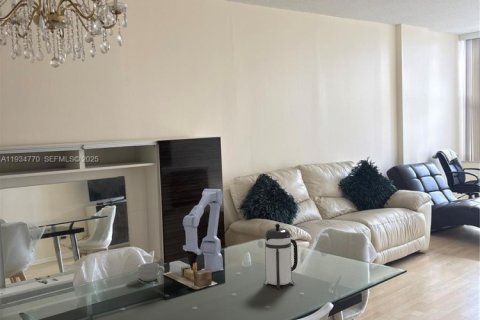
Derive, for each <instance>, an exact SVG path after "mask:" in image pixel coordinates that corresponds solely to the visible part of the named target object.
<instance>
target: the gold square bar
mask: <svg viewBox="0 0 480 320" xmlns="http://www.w3.org/2000/svg"><path fill="white" fill-rule="evenodd" d="M197 264H198V262H197V261H196V262H194V263H193V266H192V268H191V269H189V268H185V269H183V275H184V276H186V277H189V278H191V279H193V280H194V272H196V271H198V265H197Z"/></svg>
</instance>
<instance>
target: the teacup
mask: <svg viewBox="0 0 480 320" xmlns="http://www.w3.org/2000/svg"><path fill="white" fill-rule="evenodd" d="M160 269H161V270H162V271H161V272H160ZM137 272H138V273H137V274H138V277H139V279H140V280H141V281H142V282H143V281H144V282H153V281H156V279H158V278H160V277H161V275H164V274H163V273H165V267H164V266H162V265H160V264H159V263H157V262H148V263H147V262H145V263H142V264H141V263H140V264H139V265H137Z"/></svg>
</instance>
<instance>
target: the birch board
mask: <svg viewBox="0 0 480 320" xmlns="http://www.w3.org/2000/svg"><path fill="white" fill-rule="evenodd" d="M162 275H164V276H166V277H168V278H170V279H172V280H175V281H176V282H179V283H181V284H183V285H185V286H188V287H189V288H191V289H194V290H199V289H204V288H206V287H210V286H215V285H218V282H215V281H213V280H212V284H211V285H207V286H204V287H200V288H199V287H197V286H195V285H194V280H193V279H191V278H189V277H184V278H180V277H178V276H176V275H173V274H171V273H170V271H169V272H164V273H163V274H162Z"/></svg>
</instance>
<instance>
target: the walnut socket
mask: <svg viewBox="0 0 480 320" xmlns="http://www.w3.org/2000/svg"><path fill="white" fill-rule="evenodd" d="M203 269H204V270H202V269H201V270H197V271H196V272H194V285H195V286H197V287H199V288H200V287H203V288H205V287H204V286H207V285H211V284H212V281H213V280H212V279H213V278H212V272H211V271H209V270H207V269H205V268H203ZM211 286H212V285H211ZM207 287H208V286H207ZM200 289H201V288H200Z"/></svg>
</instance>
